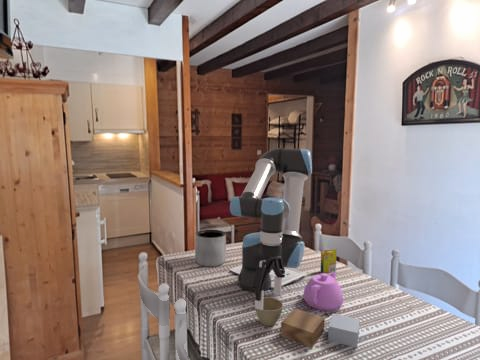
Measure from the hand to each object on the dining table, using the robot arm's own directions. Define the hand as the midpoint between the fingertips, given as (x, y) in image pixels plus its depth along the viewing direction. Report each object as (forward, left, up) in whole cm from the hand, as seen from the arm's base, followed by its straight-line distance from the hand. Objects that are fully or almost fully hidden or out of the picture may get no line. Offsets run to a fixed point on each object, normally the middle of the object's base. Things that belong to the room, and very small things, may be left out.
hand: (268, 301), depth 119 cm
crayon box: (+2, +59, -8) cm, 60 cm away
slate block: (+25, +7, -8) cm, 27 cm away
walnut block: (+13, +1, -8) cm, 15 cm away
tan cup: (0, 0, -9) cm, 8 cm away
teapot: (+11, +26, -9) cm, 30 cm away
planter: (-53, +34, -9) cm, 64 cm away
